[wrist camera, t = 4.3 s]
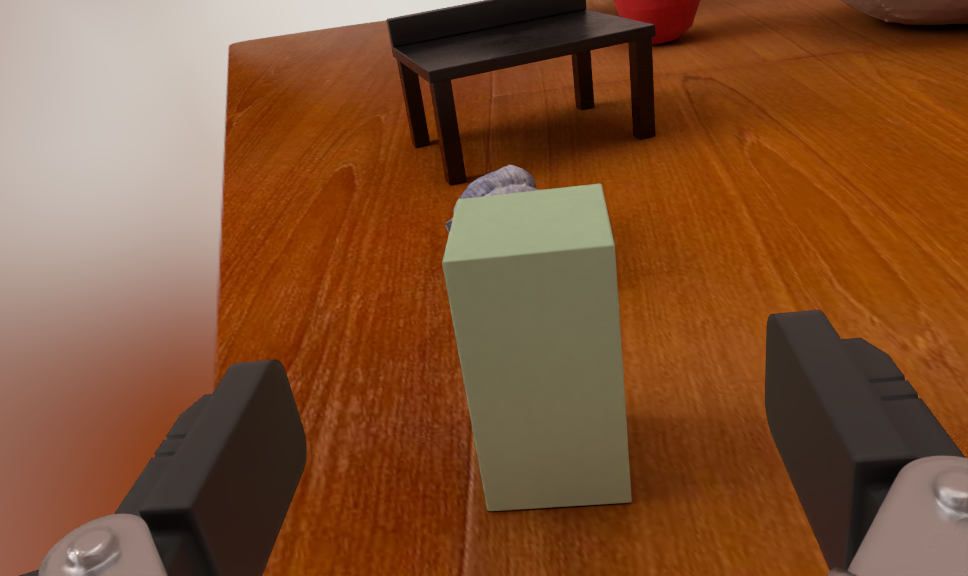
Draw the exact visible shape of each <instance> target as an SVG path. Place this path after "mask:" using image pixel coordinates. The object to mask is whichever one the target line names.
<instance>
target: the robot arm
mask: <svg viewBox="0 0 968 576" xmlns="http://www.w3.org/2000/svg"><path fill="white" fill-rule="evenodd" d="M765 405H766V413H767V419H768V424H769V428H770V431H771V434H772V437H773V439H774V441H775V444H776V446H777V448H778V451H779V453H780V455H781V458H782V460H783V462H784V465H785V467H786V469H787V472H788V474H789V476H790V479H791V481H792V483H793V486H794V488H795V490H796V493H797V495H798V497H799V500H800V502H801V504H802V507H803V509H804V511H805V514H806V516H807V518H808V521H809V523H810V525H811V528H812V530H813V532H814V535H815V537H816V539H817V542H818V544H819V546H820V549H821V551H822V553H823V556H824V558H825V560H826V563H827V565H828V567H829V570H830V572H829V573H828V575H827V576H968V459H967V458H965V456H964V455H963V454H962V452H961V451H960V450H959V448H958V447H957V446H956V444H955V443H954V442H953V440H952V439H951V438H950V436H949V435H948V434H947V432H946V431H945V430H944V428H943V427H942V426H941V424H940V423H939V422H938V420H937V419H936V418H935V416H934V415H933V414H932V412H931V411H930V410H929V408H928V407H927V406H926V404H925V403H924V402H923V400H922V399H921V398H918V394H917V392H916V391H915V390H914V388H913V387H912V386H911V384H910V383H909V382H908V380H906V381H905V378H904V375H903V374H902V372H901V371H900V370H899V368H898V367H897V366H896V364H895V363H894V362H893V360H892V359H891V358H890V356H889V355H888V354H886V353H885V352H883V351H881V350H880V349H878V348H876V347H875V346H873V345H872V344H870V343H868V342H867V341H865V340H863V339H862V338H852V339H841V338H840V337H839V335H838V334H837V332H836V331H835V329H834V328H833V326H832V325H831V323H830V322H829V320H828V319H827V317H826V316H825V314H824V313H823V312H822V311H821V310H810V311H800V312H789V313H778V314H771V315H770V316H769V318H768V321H767V336H766V376H765ZM166 437H167V439H166V440H163V442H162V443H161V445H160V446H159V448H158V449H157V451H156V452H155V458H151V460H150V461H149V463H148V464H147V466H146V467H145V469H144V470H143V472H142V473H141V475H140V476H139V478H138V479H137V481H136V482H135V484H134V485H133V487H132V488H131V490H130V491H129V493H128V494H127V496H126V497H125V499H124V500H123V502H122V503H121V505H120V506H119V508H118V509H117V511H116V512H115V514H113V515H109V516H105V517H101V518H98V519H95V520H93V521H90V522H88V523H86V524H84V525H82V526H80V527H78V528H77V529H75V530H73V531H72V532H70V533H69V534H67V535H66V536H65V537H63V538H62V539H61V540H60V541H59V542H58V543H57V544H56V545H54V546H53V548H52V549H51V550H50V551H49V552H48V553H47V555H46V557H45V558H44V559H43V562H42V564H41V566H40V569H39V570H36V571H33V572H30V573H27V574H23V575H20V576H262V574H263V572H264V569H265V567H266V564H267V562H268V559H269V557H270V554H271V552H272V549H273V546H274V544H275V541H276V539H277V536H278V534H279V531H280V529H281V526H282V524H283V521H284V519H285V516H286V513H287V511H288V508H289V506H290V503H291V501H292V498H293V496H294V493H295V491H296V488H297V486H298V483H299V481H300V478H301V475H302V473H303V470H304V467H305V463H306V449H307V448H306V438H305V433H304V429H303V426H302V423H301V419H300V416H299V413H298V410H297V407H296V403H295V400H294V397H293V394H292V391H291V387H290V384H289V381H288V378H287V375H286V372H285V369H284V367H283V365H282V364H281V362H280V361H278V360H264V361H254V362H243V363H234V364H232V365H231V366H230V367H229V368H228V370H227V372H226V373H225V375H224V376H223V378H222V380H221V381H220V383H219V384H218V386H217V387H216V389H215V391H214V392H213V394H209V395H204V396H203V397H201V398H200V399H199V400H198V401H197V402H195V403H194V404H193V405H192V406H190V407H189V408H188V409H187V410H185V412H183V413H182V414H181V415H180V416H179V418H178V419H177V421H176V422H175V424H174V425H173V427H172V428H171V430H170V431H169V433H168V434H167V436H166Z"/></svg>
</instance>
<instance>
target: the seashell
mask: <svg viewBox="0 0 968 576" xmlns="http://www.w3.org/2000/svg"><path fill="white" fill-rule="evenodd" d="M535 187H536V186H535V180H534V178H533V177H532V176H531V174H530V173H528V172H526V171H525V170H524V169H521V168H519V167H516V166H513V165H507V167H503V168H501V169H499V170H497V171H495V172H491V173H490V174H485V175H484V176H483V177H479V178H478V179H476V180H475V181H473V182H472V183H471V184H469V185H468V188H467V189H466V190H465V191H464V192H463V193H462V196H461V197H460V198H459V199H465V198H474V197H483V196H492V195H501V194H511V193H520V192H529V191H538V189H535ZM455 207H456V205H455ZM453 211H454V212H455V208H454V209H453ZM452 220H453V219H451V220H449V221H448V222H447V223H446V228H447V230H448V232H450V228H451V224H452Z"/></svg>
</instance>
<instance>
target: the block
mask: <svg viewBox="0 0 968 576" xmlns="http://www.w3.org/2000/svg"><path fill="white" fill-rule="evenodd" d="M442 264H443V270H444V275H445V281H446V286H447V292H448V297H449V303H450V308H451V314H452V319H453V325H454V330H455V336H456V341H457V347H458V352H459V358H460V363H461V369H462V374H463V380H464V385H465V391H466V396H467V402H468V407H469V413H470V418H471V424H472V429H473V435H474V440H475V446H476V451H477V457H478V462H479V468H480V473H481V479H482V484H483V490H484V495H485V501H486V506H487V510H488V511H503V510H520V509H536V508H552V507H568V506H584V505H600V504H616V503H630V502H631V501H632V496H631V481H630V466H629V451H628V436H627V421H626V406H625V391H624V376H623V360H622V345H621V330H620V315H619V300H618V285H617V270H616V255H615V244H614V239H613V235H612V230H611V225H610V221H609V216H608V212H607V207H606V202H605V198H604V193H603V189H602V185H601V184H593V185H584V186H574V187H565V188H556V189H547V190H538V191H529V192H520V193H511V194H501V195H492V196H483V197H474V198H465V199H458V200H457V203H456V207H455V212H454V216H453V220H452V224H451V228H450V233H449V237H448V241H447V245H446V249H445V254H444V258H443V262H442Z"/></svg>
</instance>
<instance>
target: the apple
mask: <svg viewBox="0 0 968 576" xmlns="http://www.w3.org/2000/svg"><path fill="white" fill-rule="evenodd" d="M614 2H615V7H616V10H617V12H618V15H619V17H623V18H627V19H632V20H636V21H641V22H645V23H649V24H654V25H655V31H656V36H655V37H652V45H653V44H659V43H664V42H668V41H672V40H676V39H678V38H679V37H680V36H681V35H682V34H683V33H684V32H685V31H687V30H688V29H689V28H690V27H691V26H692V24H693V21H694V18H695V14H696V11H697V8H698V5H699V2H700V0H614Z"/></svg>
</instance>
